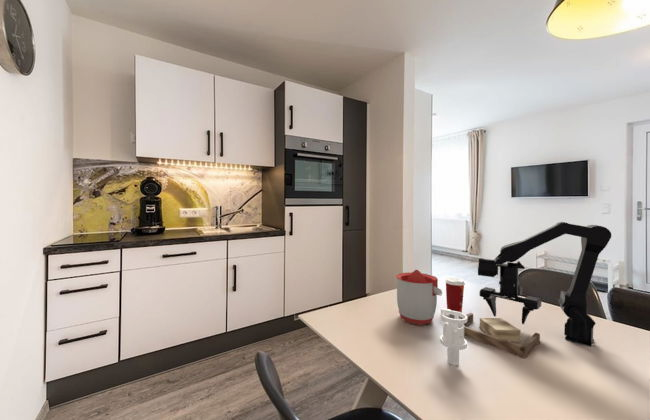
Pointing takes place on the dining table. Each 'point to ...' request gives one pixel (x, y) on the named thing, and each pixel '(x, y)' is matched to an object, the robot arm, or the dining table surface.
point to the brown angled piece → (501, 340)
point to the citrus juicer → (417, 297)
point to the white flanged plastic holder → (453, 334)
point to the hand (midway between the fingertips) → (508, 319)
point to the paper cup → (454, 294)
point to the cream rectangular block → (500, 329)
